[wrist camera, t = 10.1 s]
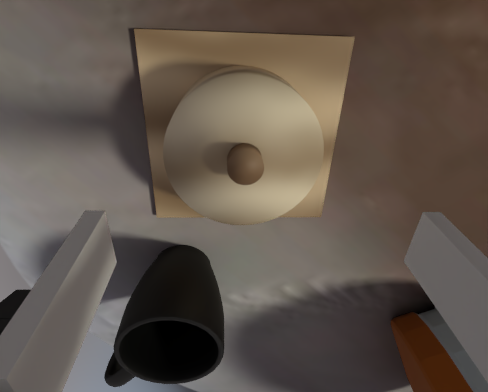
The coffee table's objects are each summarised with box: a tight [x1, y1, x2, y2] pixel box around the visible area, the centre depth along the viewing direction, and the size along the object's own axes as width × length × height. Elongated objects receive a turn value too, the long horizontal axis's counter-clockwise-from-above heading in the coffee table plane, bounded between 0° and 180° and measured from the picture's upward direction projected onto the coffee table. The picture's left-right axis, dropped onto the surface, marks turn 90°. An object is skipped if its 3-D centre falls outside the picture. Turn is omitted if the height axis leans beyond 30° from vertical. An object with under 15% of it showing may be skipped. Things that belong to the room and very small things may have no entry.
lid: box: [163, 65, 324, 225], centre depth 23 cm, size 11×11×6 cm
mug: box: [105, 245, 224, 387], centre depth 29 cm, size 8×12×10 cm
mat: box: [134, 29, 355, 217], centre depth 25 cm, size 15×15×1 cm
